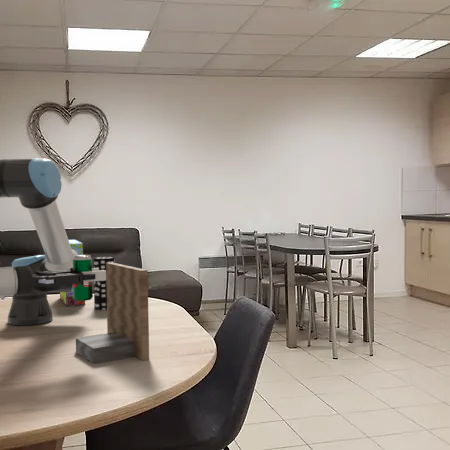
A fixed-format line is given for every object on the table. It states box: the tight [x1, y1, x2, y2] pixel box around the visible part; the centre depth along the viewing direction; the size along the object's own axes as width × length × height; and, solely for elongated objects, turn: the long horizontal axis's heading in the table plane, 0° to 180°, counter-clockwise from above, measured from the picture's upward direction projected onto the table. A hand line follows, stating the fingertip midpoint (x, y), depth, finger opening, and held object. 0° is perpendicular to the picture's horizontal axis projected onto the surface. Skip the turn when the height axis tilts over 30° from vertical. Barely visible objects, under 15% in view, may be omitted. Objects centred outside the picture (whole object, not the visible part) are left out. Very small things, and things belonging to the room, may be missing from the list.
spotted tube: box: [92, 256, 116, 311], centre depth 225 cm, size 8×8×20 cm
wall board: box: [75, 262, 150, 364], centre depth 157 cm, size 24×14×24 cm, turn 34°
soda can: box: [73, 254, 94, 302], centre depth 154 cm, size 5×5×12 cm
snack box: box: [59, 239, 86, 306], centre depth 241 cm, size 22×9×26 cm, turn 23°
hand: (101, 274), depth 157 cm, fingers closed on soda can, 5 cm apart
